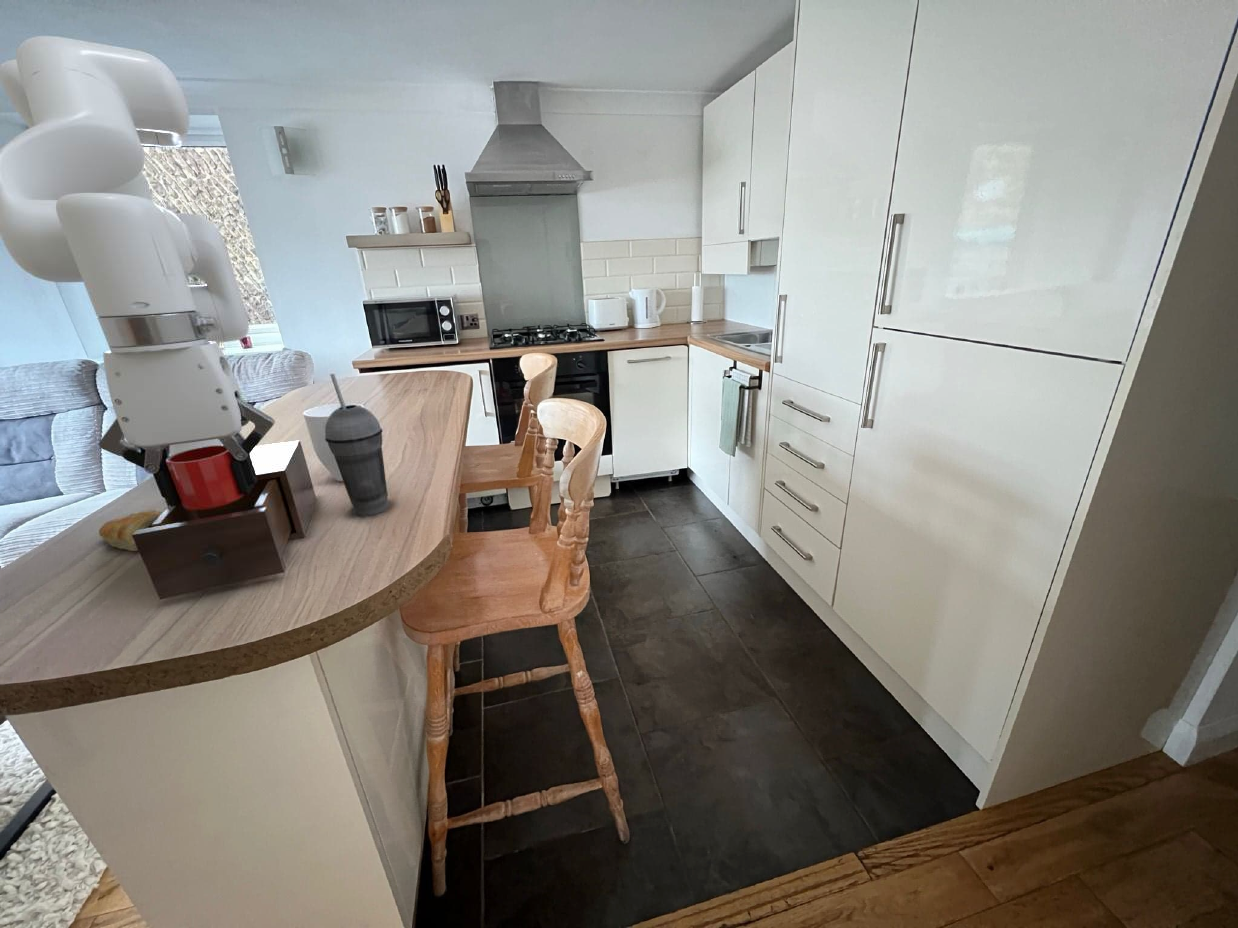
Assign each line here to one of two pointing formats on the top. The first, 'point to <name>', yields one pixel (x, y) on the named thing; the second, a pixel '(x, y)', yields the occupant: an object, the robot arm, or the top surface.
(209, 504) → the red cup
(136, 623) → the top surface
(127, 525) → the pastry
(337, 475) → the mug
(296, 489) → the cabinet
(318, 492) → the top surface
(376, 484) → the beverage cup
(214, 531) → the drawer
